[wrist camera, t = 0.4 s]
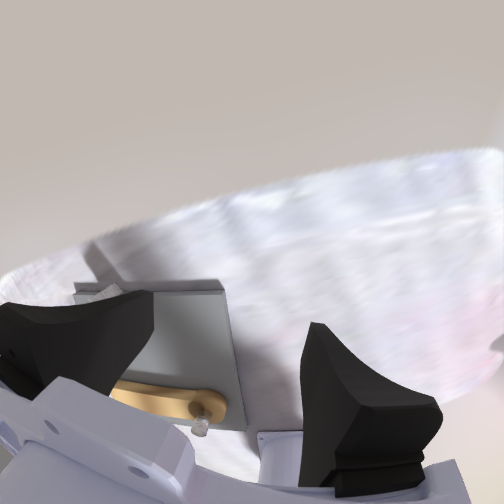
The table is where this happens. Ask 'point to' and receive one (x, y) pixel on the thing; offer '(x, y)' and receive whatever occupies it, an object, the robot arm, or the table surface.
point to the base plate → (189, 350)
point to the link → (170, 400)
